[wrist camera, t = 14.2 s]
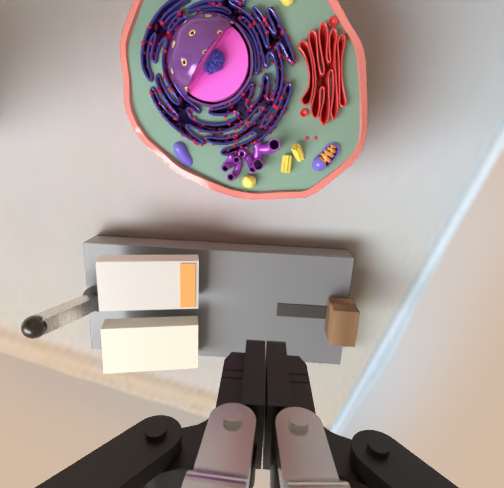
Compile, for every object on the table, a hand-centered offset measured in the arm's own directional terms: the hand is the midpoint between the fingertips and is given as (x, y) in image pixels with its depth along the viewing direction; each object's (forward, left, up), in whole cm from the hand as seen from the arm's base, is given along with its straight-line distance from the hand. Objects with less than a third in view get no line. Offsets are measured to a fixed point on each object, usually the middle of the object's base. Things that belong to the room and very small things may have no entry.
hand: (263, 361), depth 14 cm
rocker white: (-10, -5, -19) cm, 23 cm away
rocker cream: (-10, -12, -19) cm, 25 cm away
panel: (-4, -8, -25) cm, 27 cm away
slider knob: (+8, -8, -22) cm, 25 cm away
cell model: (-2, +12, -25) cm, 28 cm away
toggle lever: (-17, -8, -21) cm, 29 cm away
